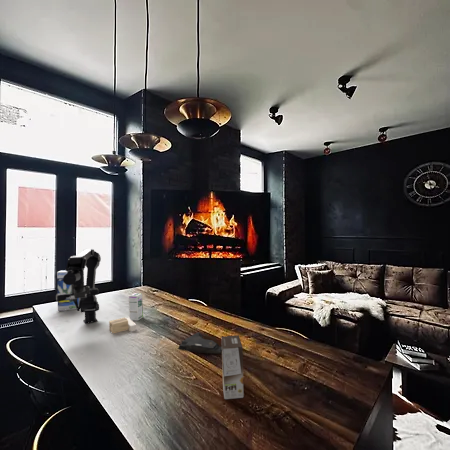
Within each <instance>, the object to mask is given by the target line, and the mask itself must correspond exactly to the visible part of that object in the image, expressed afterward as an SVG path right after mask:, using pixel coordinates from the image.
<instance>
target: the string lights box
mask: <svg viewBox="0 0 450 450" xmlns="http://www.w3.org/2000/svg"><path fill="white" fill-rule="evenodd" d="M65 270H66V269H65ZM65 270H63V269H62V270H59V271H57V272H56V276H57V277H56V279H57V280H56V281H57V287H56V288H57V294H58V293H66V294H70V293H72V290H71V285H67V284H65V283H64V282H63V277H64V276H65V275H66V274H67V271H65ZM69 298H70V297H69ZM69 298H66V299H65V300H64V301H57V311H72V310H73V311H74V310H77V308H76V306H75V303H74V302H73V301H70V299H69ZM77 301H78V302H79V298H77Z"/></svg>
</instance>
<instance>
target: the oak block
mask: <svg viewBox="0 0 450 450" xmlns="http://www.w3.org/2000/svg"><path fill="white" fill-rule="evenodd" d="M126 318H127V317H122V318H116V319H113V320H109V321H108V323H109V324H108V325H109V326H108V327H109V331H110V333H111V332H112V333H111V334H113V333H114V334H117V333H120V332H121V333H122V332H124V331H129V330H128V320H127V319H126ZM114 334H113V335H114Z"/></svg>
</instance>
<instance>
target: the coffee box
mask: <svg viewBox="0 0 450 450" xmlns="http://www.w3.org/2000/svg"><path fill="white" fill-rule="evenodd" d="M240 338H241V337H240V335H235V334H234V335H227V336H221V338H220V339H221V347H222V353H221V367H222V370H221V371H222V375H221V376H222V389H223V399H224V400H232V399H233V400H234V399H243V398H244V393H245V392H244V362H243V361H244V360H243V358H244V357H243V355H244V354H243V345H242V341H241V339H240Z"/></svg>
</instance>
